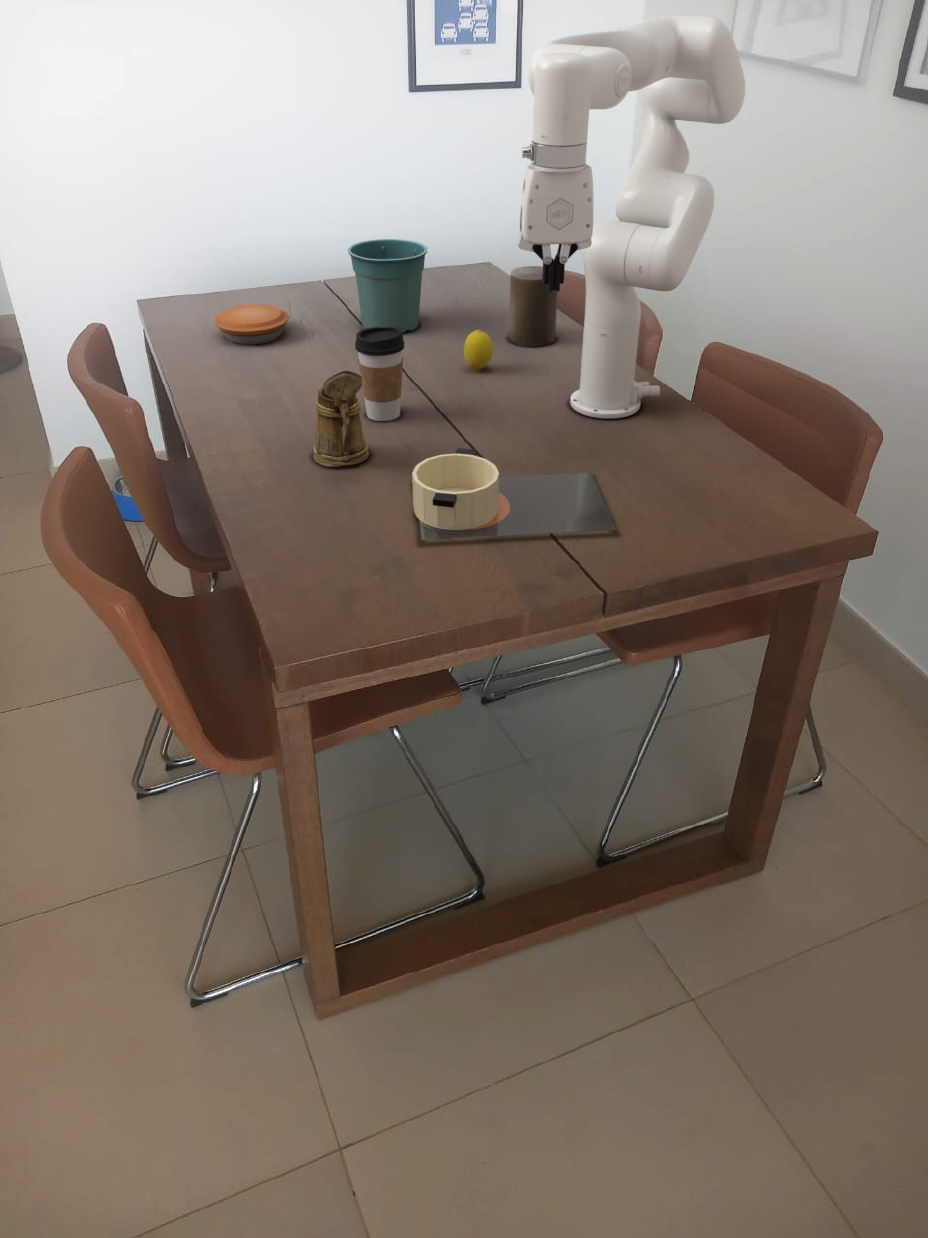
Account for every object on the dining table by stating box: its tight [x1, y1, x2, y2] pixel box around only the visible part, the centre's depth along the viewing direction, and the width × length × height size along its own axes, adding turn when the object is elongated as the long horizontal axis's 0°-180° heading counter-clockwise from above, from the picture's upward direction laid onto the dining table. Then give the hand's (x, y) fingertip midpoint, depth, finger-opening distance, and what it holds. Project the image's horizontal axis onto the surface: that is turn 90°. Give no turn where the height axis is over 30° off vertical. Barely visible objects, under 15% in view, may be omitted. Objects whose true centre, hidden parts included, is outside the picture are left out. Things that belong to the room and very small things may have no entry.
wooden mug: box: [312, 370, 370, 469], centre depth 157 cm, size 9×14×18 cm, turn 17°
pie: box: [213, 303, 290, 345], centre depth 208 cm, size 15×16×5 cm
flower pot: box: [347, 238, 428, 334], centre depth 210 cm, size 16×16×16 cm
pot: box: [411, 447, 500, 530], centre depth 146 cm, size 12×16×6 cm
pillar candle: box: [508, 265, 558, 347], centre depth 203 cm, size 10×10×15 cm
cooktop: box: [418, 471, 617, 541], centre depth 149 cm, size 28×18×1 cm, turn 95°
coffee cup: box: [354, 327, 405, 422], centre depth 173 cm, size 8×8×15 cm
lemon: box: [463, 329, 494, 371], centre depth 192 cm, size 6×6×8 cm
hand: (552, 288), depth 149 cm, fingers closed
